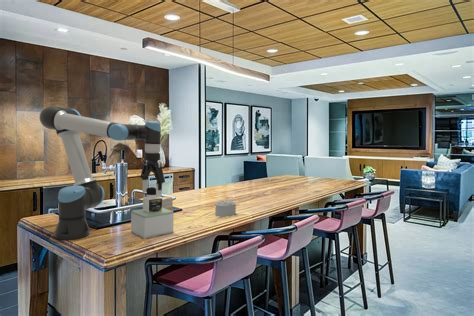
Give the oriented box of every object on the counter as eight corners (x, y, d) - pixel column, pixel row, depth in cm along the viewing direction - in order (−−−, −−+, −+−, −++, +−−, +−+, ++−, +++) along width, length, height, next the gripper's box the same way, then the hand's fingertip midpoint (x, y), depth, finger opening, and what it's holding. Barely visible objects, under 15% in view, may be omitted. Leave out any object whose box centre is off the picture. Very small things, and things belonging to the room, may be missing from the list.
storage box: (144, 239, 162) (144, 218, 161) (131, 232, 172) (131, 212, 171) (173, 232, 173) (173, 213, 172) (159, 226, 183) (159, 208, 182)
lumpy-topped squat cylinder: (237, 214, 214) (238, 201, 214) (222, 218, 205) (222, 203, 205) (226, 211, 222) (226, 198, 221) (211, 214, 213) (211, 201, 212)
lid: (144, 218, 161) (144, 216, 161) (131, 212, 171) (131, 210, 171) (173, 213, 172) (173, 211, 172) (159, 208, 182) (159, 206, 182)
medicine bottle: (148, 213, 166) (149, 189, 165) (142, 210, 172) (142, 187, 171) (162, 211, 171) (162, 188, 170) (155, 208, 176) (155, 186, 175)
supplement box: (167, 217, 202) (167, 196, 201) (172, 219, 199) (172, 197, 198) (156, 220, 196) (156, 198, 195) (161, 221, 193) (161, 199, 192)
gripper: (172, 154, 163) (171, 197, 164) (147, 150, 181) (146, 190, 182) (158, 154, 158) (157, 199, 159) (134, 150, 176) (133, 191, 177)
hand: (151, 194), depth 171 cm, fingers open, 13 cm apart
